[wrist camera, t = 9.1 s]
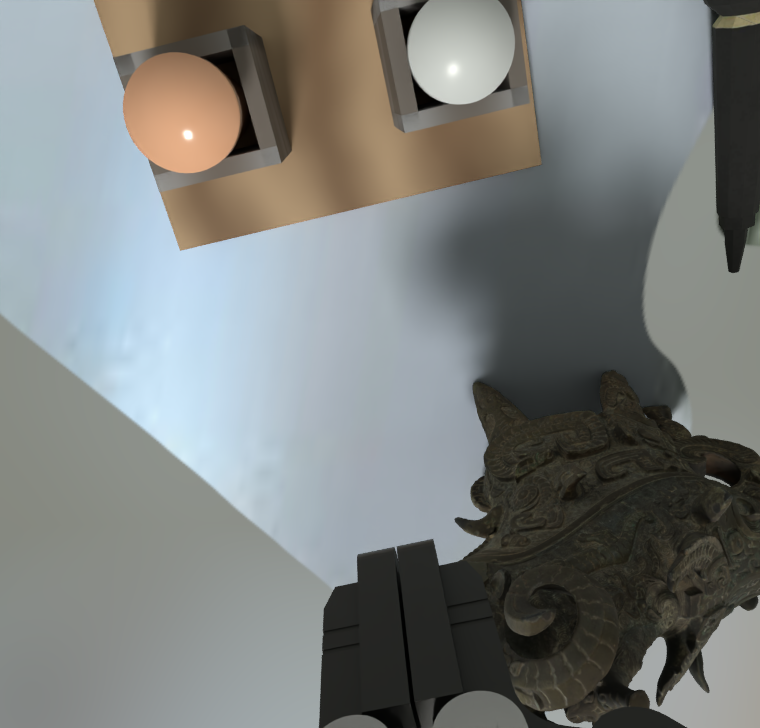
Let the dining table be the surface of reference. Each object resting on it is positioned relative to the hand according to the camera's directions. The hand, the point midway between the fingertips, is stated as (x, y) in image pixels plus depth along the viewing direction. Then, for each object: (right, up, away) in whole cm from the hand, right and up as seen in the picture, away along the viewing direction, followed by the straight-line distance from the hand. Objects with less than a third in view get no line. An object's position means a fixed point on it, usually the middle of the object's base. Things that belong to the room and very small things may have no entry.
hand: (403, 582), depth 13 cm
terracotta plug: (-9, +17, +21) cm, 29 cm away
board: (-3, +20, +25) cm, 32 cm away
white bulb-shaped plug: (+3, +21, +23) cm, 31 cm away
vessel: (+11, 0, +34) cm, 36 cm away
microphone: (+19, +20, +27) cm, 39 cm away
